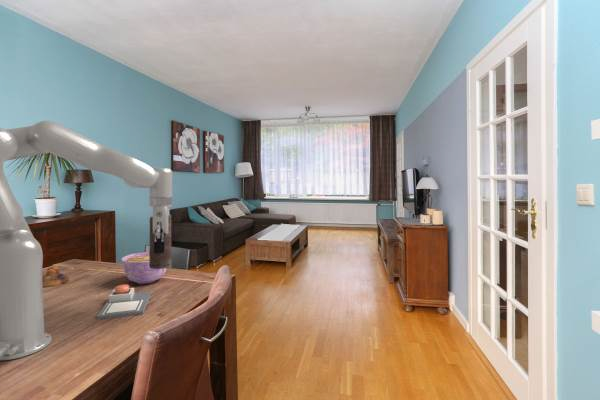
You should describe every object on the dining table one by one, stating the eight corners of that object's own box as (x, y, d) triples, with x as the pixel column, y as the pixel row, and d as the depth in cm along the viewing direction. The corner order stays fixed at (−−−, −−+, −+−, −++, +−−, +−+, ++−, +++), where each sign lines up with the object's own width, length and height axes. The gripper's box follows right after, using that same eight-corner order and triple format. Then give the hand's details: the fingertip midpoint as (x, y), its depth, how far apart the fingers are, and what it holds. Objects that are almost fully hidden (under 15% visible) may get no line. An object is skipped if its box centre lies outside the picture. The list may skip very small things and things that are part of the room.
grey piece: (142, 313, 107) (142, 304, 106) (96, 319, 102) (96, 309, 102) (150, 293, 125) (150, 285, 125) (111, 297, 121) (111, 289, 121)
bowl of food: (179, 279, 145) (178, 255, 144) (138, 291, 127) (137, 264, 127) (153, 272, 155) (152, 249, 154) (112, 283, 138) (111, 258, 137)
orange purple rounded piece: (64, 286, 134) (63, 269, 133) (30, 289, 129) (29, 272, 129) (72, 278, 145) (72, 263, 144) (41, 281, 140) (40, 265, 140)
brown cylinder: (162, 272, 107) (163, 215, 106) (144, 271, 108) (144, 214, 107) (175, 267, 114) (176, 214, 113) (158, 265, 115) (158, 213, 115)
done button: (127, 294, 116) (127, 288, 116) (113, 295, 115) (113, 289, 115) (130, 290, 121) (130, 284, 121) (116, 291, 119) (116, 285, 119)
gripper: (170, 203, 103) (169, 255, 104) (173, 200, 119) (173, 245, 120) (145, 203, 100) (145, 256, 101) (152, 200, 117) (152, 246, 118)
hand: (160, 250), depth 111 cm, fingers closed on brown cylinder, 7 cm apart
